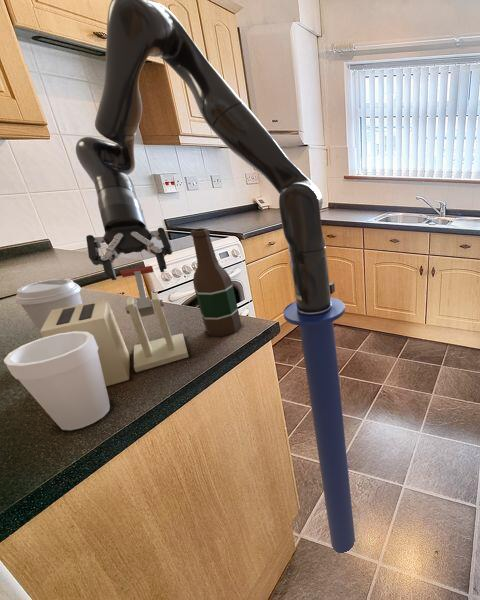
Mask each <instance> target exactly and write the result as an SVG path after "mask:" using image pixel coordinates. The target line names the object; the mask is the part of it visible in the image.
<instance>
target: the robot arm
mask: <svg viewBox="0 0 480 600" xmlns="http://www.w3.org/2000/svg"><path fill="white" fill-rule="evenodd" d="M106 21H107V22H106V43H105V44H106V45H105V68H104V82H103V89H102V92H101V98H100V101H99V105H98V109H97V112H96V116H95V119H94V128H95V130H96V131H97V132H98V134H100V136H102V137H104V138H105V139H107V140H109V141H107V140H103V139H101V138H97V137H92V136H83V137H81V138H80V139H79V140H77V142H76V144H75V155H76V158H77V160H78V162H79V164H80V166H81V167H82V169H83V170H84V172H85V173H86V174H87V175H88V177H89V178H90V180H91V182H92V183H93V185H94V189H95V192H96V197H97V205H98V210H99V213H100V218H101V222H102V226H103V229H104V230H103V231H104V235H103V236H94V235H92V234H88V235H86V236H85V238H86V246H87V254H88V259H89V260H90V261H91V263H92V265H94V266H99V265H102V267H103V271H104V274H105V276H106V277H107V278H108V279H111V281H117V276H116V271H115V266H114V265H113V263H114V262H115V261H116V259H117V260H118V258H119V257H120V256H121V255H122V254H124V255H128V254H132V253H142V252H143V251H145V252H147V253H148V254H149V255H154V256H155V258H156V262H157V265H158V268H159V271H160V273H164V272H165V270H167V268H168V266H167V263H166V260H165V257H166V256H167V255H168V256H169V255H170V256H171V255H172V254H173V250H172V246H171V244H170V241H169V238H168V236H167V234H166V231H165V228H163V227H158V228H157V229H156V230H152V231H150V230H149V229H148V226H147V222H146V219H145V216H144V212H143V209H142V206H141V203H140V201H139V199H138V196H137V192H136V189H135V186H134V183H133V181H132V179H131V177H130V174H132V173H133V172H134V170H135V168H136V160H135V140H136V135H137V132H138V129H139V126H140V123H141V120H142V116H143V102H142V96H141V92H140V82H139V81H140V75H141V71H142V69H143V67H144V65H145V63H146V61H147V59H149V57H153V58H160V59H161V60H162V61H164V62H165V63H166V64H167V65H169V67H170V68H171V69H172V70H173V71H174V72H175V73H176V74H177V75H178V76H179V78H181V79H182V81H183V83H184V84H185V85H186V86H187V87H188V88H189V90H190V92H191V94H192V96H193V98H194V100H195V104H196V105H197V108H198V111H199V112H200V114H201V117H202V118H203V120H204V122H205V123H206V124H207V126H208V127H209V128H210V129H211V131H212V132H213V133H214V134H215V135H216V137H218V138H219V140H221V142H223V144H224V145H225V146H226V147H227V148H228V149H230V151H231V152H233V153H234V154H235V155H236V156H237V157H239V158H240V159H241V160H242V161H243V162H245V163H246V164H248V165H249V166H250V167H252V168H253V169H255V171H257V172H258V173H260V174H261V175H262V176H263V177H264V178H265V179H266V180H267V181H268V182H269V183H270V184H271V185H272V186H273V188H274V189H275V190H276V191H277V193H278V194H279V196H278V208H279V215H280V216H279V217H280V222H281V226H282V233H283V235H284V237H283V238H284V239H285V241H286V244H287V250H288V256H289V262H290V263H289V264H290V269H291V270H290V271H291V275H292V276H291V277H292V283H293V284H292V285H293V289H294V298H295V301H296V305H297V312H298V313H299V314H302V315H307V316H314V315H320V314H323V313H326V312H328V311H329V310H331V308H332V303H331V297H332V295H333V294H334V293H335V292H336V287H335V282H334V281H333V282H331V281H330V278H329V277H330V276H329V268H328V267H329V265H328V257H327V246H326V237H325V235H324V232H323V225H322V219H321V218H322V217H321V210H322V207H323V195H322V193H321V191H320V189H319V188H318V186H317V185H316V184H314V182H312V181H311V180H310V179H309V178H308V177H307V176H306V175H305V174H304V173H303V172H302V171H301V170H300V169H299V168H298V167H297V166H296V165H295V164H294V163H293V162H292V161H291V160H290V159H289V157H288V156H287V155H286V154H285V152H284V151H283V150H282V148H281V147H280V146H279V145H278V143H277V142H276V141H275V140H276V139H274V138H273V136H272V135H271V134H270V132H269V131H268V130H267V129H266V128H265V126H264V125H263V124H262V123H261V121H260V119H258V117H257V116H256V115H255V114H254V113H253V112H252V110H251V109H250V108H249V106H248V105H247V104H246V103H245V102H244V101H243V100H242V99H241V97H240V96H239V95H238V94H237V92H235V91H234V90H233V89H232V88H231V86H230V85H229V84H228V83H227V81H226V80H225V79H224V78H223V77H222V76H221V75H220V73H219V72H218V71H217V70H216V69H215V68H214V66H213V65H212V64H211V63H210V61H208V59H207V58H206V56H205V55H204V54H203V53H202V51H201V50H200V48H199V47H198V46H197V44H196V43H195V42H194V39H192V37H191V36H190V34H189V33H188V32H187V30H186V29H185V27H184V26H183V25H182V23H181V22H180V20H178V18H177V17H176V16H175V15H174V13H172V11H170V9H168V8H167V7H166V6H164V5H163V4H161V3H159V2H158V1H155V0H111V1H110V3H109V7H108V10H107V20H106ZM153 238H155V239H156V240H157V241H161V243H162V246H163V247H159V246H157V245H155V243H153V242H152V239H153ZM104 243H105V245H107V246H106V248H105V251H104V252H103V254H102V255H100V252H99V249H101V248H102V247H103V244H104Z"/></svg>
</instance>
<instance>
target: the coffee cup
mask: <svg viewBox="0 0 480 600" xmlns="http://www.w3.org/2000/svg"><path fill="white" fill-rule="evenodd" d="M81 290H82V287H81V286H80V285H79V284H77V283H76V282H74V281H73V280H72V278H65V277H59V278H51V279H44V280H40V281H36V282H31V283H28V284H25V285H22V286H21V287H19V288H17V290H16V295H15V298H14V299H15V300H14V301H15V303H16V304H18V305H21V307H22V308H23V310H24V311H25V312H26V314H27V316H28V317H29V319H30V320H31V323H32V324H33V325H34V326H35V328H36V329H37V330H38V333H40V331H41V329H42V327H43V325H44V323H45V321H46V319H47V318H48V316H49V314H50V312H51V310H54V309H60V308H65V307H70V306H75V305H81V304H84V303H83V300H82V297H81V293H80V291H81ZM40 335H41V333H40Z"/></svg>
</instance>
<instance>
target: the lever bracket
mask: <svg viewBox="0 0 480 600" xmlns="http://www.w3.org/2000/svg"><path fill="white" fill-rule="evenodd" d="M158 293H159V292H157V291H156V292H151V293H150V294H151V302H152V305H153V308H154V311H155V313H156V316H157V319H158V321H159V325H160V328H161V330H162V331H161V332H162V333H163V337H162V338H159V339H154V340H149V337H148V334H147V331H146V329H145V326H144V322H143V321H142V318H141V315H140V313H139V310H138V307H137V302H136V300H135V297H134V296H129V297H127V298H126V306H125V308H124V309H125V311H126V314H127V315H129V316H130V318H131V321H132V324H133V327H134V329H135V333H136V334H137V336H138V340H139V342H140V343H139V344H135V345H133V370H134V372H135V373H139V372H142V371H146V370H149V369H153V368H156V367H159V366H163V365H166V364H170V363H173V362H176V361H180V360H183V359H186V358H189V357H190V356H189V353H188V349H187V345H186V341H185V338H184V334H183V333H178V334H174V335H172V334H171V330H170V327H169V324H168V321H167V318H166V315H165V312H164V308H163V307H165V304H164V301H163V299H160V297H159V294H158Z"/></svg>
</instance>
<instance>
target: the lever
mask: <svg viewBox="0 0 480 600" xmlns="http://www.w3.org/2000/svg"><path fill="white" fill-rule="evenodd" d="M154 272H155V270H154V268H153V265H147V266H140V267H134V268H128V269H121V270H120V275H121V277H122V278H126V277H133V276H134V278H135V283H136V288H137V292H138V297H139V298H135V303H136V306H137V309H138V312H139V314H140V317H147V316H152V315H155V313H156V312H155V308H154V304H153V301H152V299H151V297H150V296H147V291H146V287H145V282H144V277H143V275H145V274H150V273H151V274H152V273H154Z"/></svg>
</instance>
